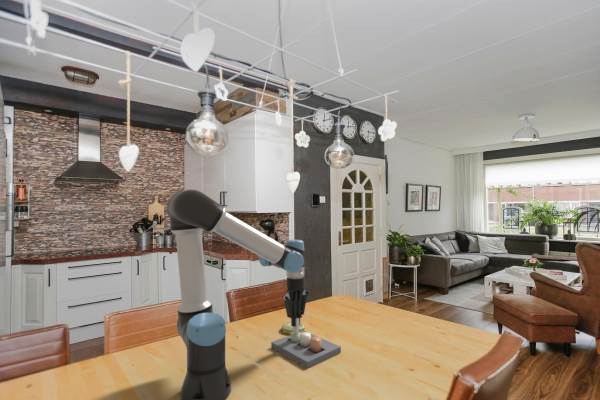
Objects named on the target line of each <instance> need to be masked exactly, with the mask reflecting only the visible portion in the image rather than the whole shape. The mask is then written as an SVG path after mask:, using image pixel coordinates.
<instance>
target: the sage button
mask: <svg viewBox="0 0 600 400" xmlns="http://www.w3.org/2000/svg"><path fill="white" fill-rule="evenodd" d="M290 335H291V342H293V343H295V344H296V343H298V342H300V332H299V334H297V335H296V334H294V333H291V334H290Z"/></svg>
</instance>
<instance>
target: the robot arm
mask: <svg viewBox="0 0 600 400" xmlns="http://www.w3.org/2000/svg"><path fill="white" fill-rule="evenodd" d="M166 212H167V215H168V217H169V225H170V232H171V233H173V234H174V235H175V240H176V250H177V262H178V263H177V264H178V272H179V273H178V274H179V286H180V287H179V288H180V296H181V303H180V304H179V305H178V307H177V321H176V328H177V329H176V330H177V332H178V335H179V336H180V338H181V339H182V341H183V343H184V345H185V347H186V373H185V376H184V379H183V383H182V386H181V388H180V399H181V400H226V399H227V398H228V397H229V396H230V394H231V391H232V382H231V379H230V378H231V377H230V375H229V372H228V370H227V366H226V333H227V329H226V328H227V326H226V321H225V319H224V317H223V316H222V315H221V314H218V313H214V311H213V310H214V309H213V302H212V300H211V299H209V298H208V295H207V294H208V292H207V281H206V269H205V257H204V247H203V246H204V245H203V231H205V232H207V233H212V232H214V233H215V234H217V235H220V236H221V237H223V238H225V239H227V240H228V241H231V242H233V243H234V244H236V245H238V246H240V247H242V248H244V249H245V250H247V251H250V253H253V254H255V255H257V256H258V260H259V264H260V265H261V266H262V267H270V266H271V267H275V268H279V269H281V270H284V271H286V277H287V278H286V287H287V290H286V294H284V295H282V298H281V299H282V300H283V302H284V307H285V312H286V317H287V318H289V319H290V322H291V325H292V333H294V334H296V335H297V334H299V325H300V323H301V319H302V318H303V316H304V315H305V309H306V303H307V297H308V294H309V291H307V290H305V288H304V287H305V244H304V243H305V242H304V241H303V240H302V239H288V240H286V243H285V245H283V244H282V243H281V242H279V241H277V240H275V239H274V238H272V237H270V236H268V235H267V234H265V233H263V232H262V231H260V230H258V229H256V228H255V227H253V226H251V225H250V224H248V223H246V222H245V221H243V220H241V219H240V218H237V217H236V216H235V215H233V214H231V213H229V212H227V211H226V208H225V206H224V205H222V204H221V203H219V202H217V201H216V200H215V199H212V198H211V197H210V196H208V195H207V194H205V193H204V192H202V191H200V190H198V189H197V190H196V189H186V190H181V191H178V192H176V193H175V194H173V195H172V196H171V197H170V198H169V200H168V202H167V204H166Z"/></svg>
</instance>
